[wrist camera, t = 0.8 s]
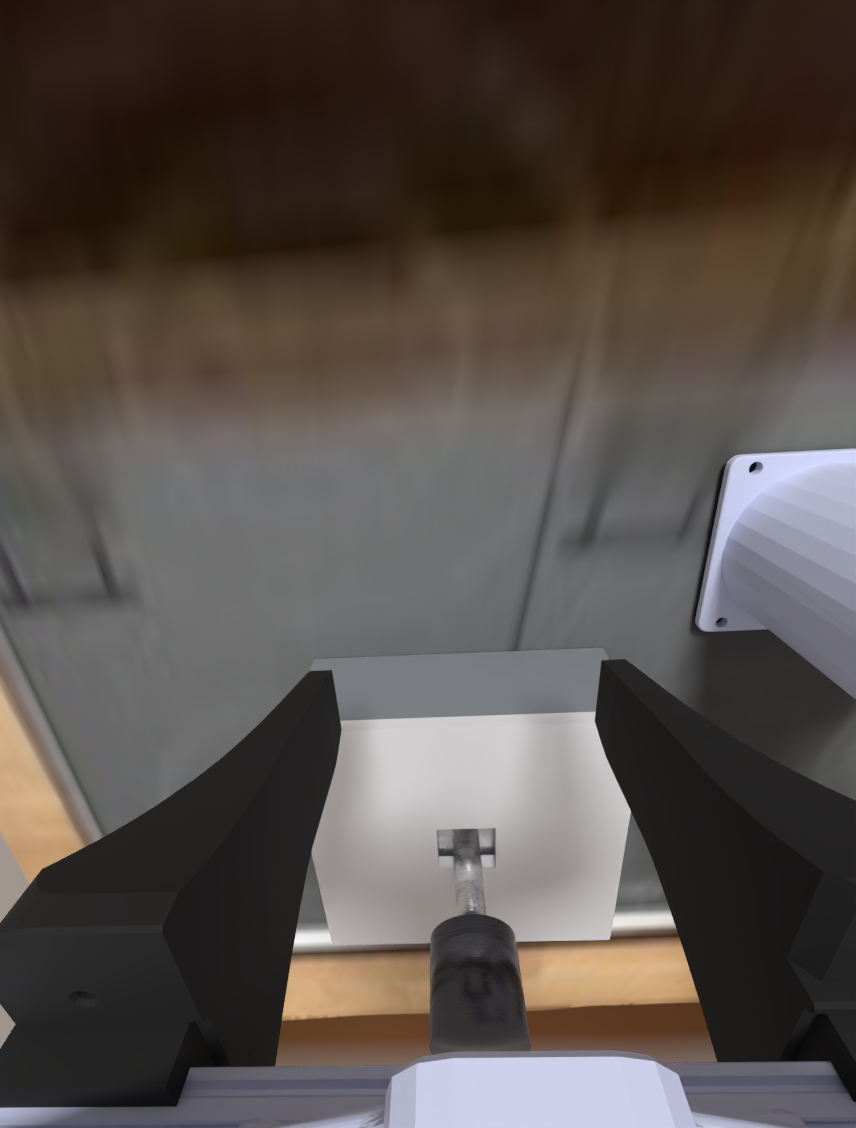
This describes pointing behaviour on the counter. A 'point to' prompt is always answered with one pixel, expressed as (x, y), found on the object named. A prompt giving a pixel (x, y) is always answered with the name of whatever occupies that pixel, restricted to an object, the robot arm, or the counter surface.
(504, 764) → the slotted white block
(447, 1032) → the plunger
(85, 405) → the counter surface
